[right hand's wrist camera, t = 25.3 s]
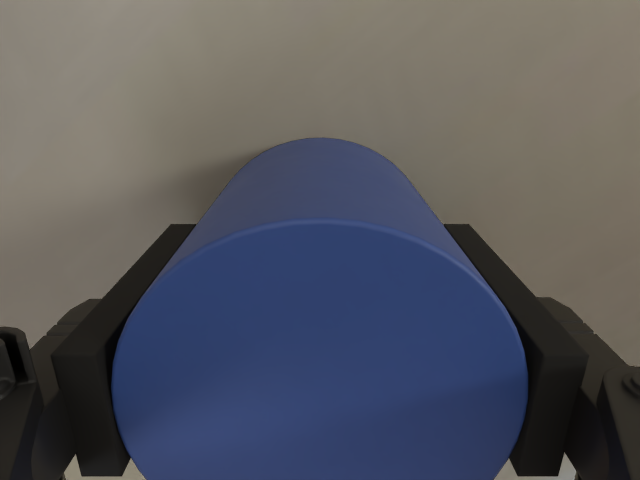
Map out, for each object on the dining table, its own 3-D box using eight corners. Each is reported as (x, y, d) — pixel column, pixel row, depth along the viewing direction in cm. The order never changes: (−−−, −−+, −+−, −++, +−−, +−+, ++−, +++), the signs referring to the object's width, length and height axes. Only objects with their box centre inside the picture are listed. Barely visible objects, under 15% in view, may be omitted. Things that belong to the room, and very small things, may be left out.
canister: (385, 360, 17) (435, 585, 10) (192, 311, 16) (86, 514, 9) (463, 175, 14) (611, 292, 7) (238, 106, 14) (143, 157, 6)
